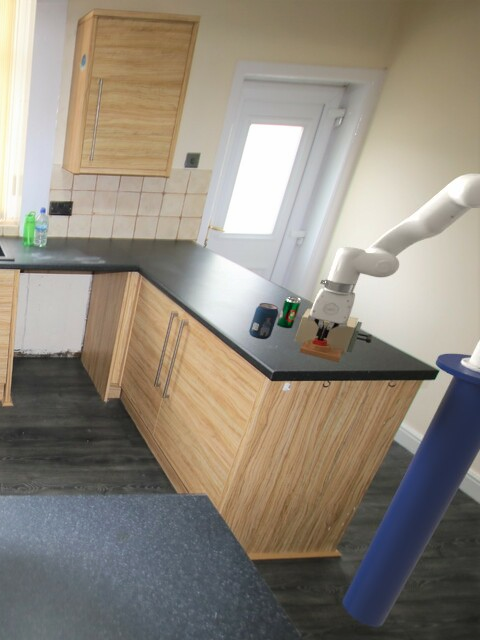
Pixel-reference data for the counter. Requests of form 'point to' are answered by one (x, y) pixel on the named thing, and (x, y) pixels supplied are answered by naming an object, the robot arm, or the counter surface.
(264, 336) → the soda can
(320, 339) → the button
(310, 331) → the cream appliance housing
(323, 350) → the control block
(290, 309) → the soda can
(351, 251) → the robot arm
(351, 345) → the grey piece
